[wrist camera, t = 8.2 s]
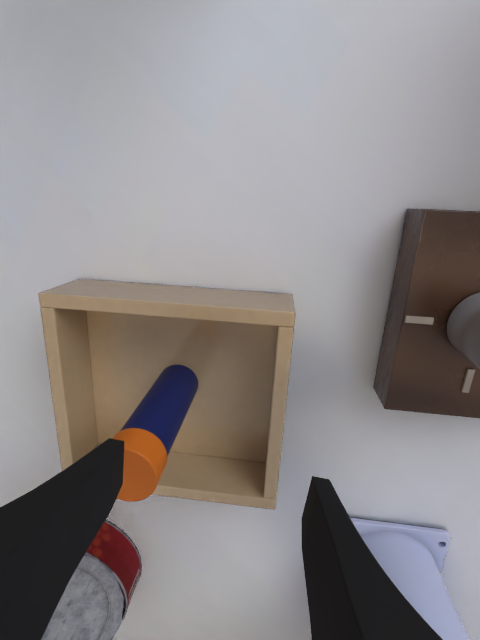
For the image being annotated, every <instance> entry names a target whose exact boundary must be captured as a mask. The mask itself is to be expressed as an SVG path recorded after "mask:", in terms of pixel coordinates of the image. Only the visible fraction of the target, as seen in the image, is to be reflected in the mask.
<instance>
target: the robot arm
mask: <svg viewBox="0 0 480 640" xmlns="http://www.w3.org/2000/svg"><path fill="white" fill-rule="evenodd" d="M123 468H124V441H122V440H116V439H111V438H109V439H107V440H106V441H104V442H103V443H101V444H100V445H99V446H97V447H96V448H95V449H93V450H92V451H90V452H89V453H88V454H86V455H85V456H83V457H82V458H81V459H79V460H78V461H76V462H75V463H73V464H72V465H71V466H69V467H68V468H66V469H65V470H63V471H62V472H60V473H59V474H57V475H56V476H54V477H53V478H51V479H50V480H48V481H46V482H45V483H43V484H42V485H40V486H38V487H37V488H35V489H34V490H32V491H30V492H28V493H27V494H25V495H23V496H21V497H19V498H17V499H16V500H14V501H12V502H10V503H8V504H6V505H4V506H2V507H0V640H41V639H42V637H43V635H44V632H45V630H46V628H47V626H48V624H49V622H50V620H51V618H52V615H53V613H54V611H55V609H56V607H57V605H58V603H59V601H60V599H61V597H62V595H63V593H64V591H65V589H66V587H67V585H68V583H69V581H70V579H71V577H72V575H73V574H74V572H75V570H76V568H77V567H78V565H79V563H80V562H81V560H82V558H83V557H84V555H85V553H86V552H87V550H88V548H89V547H90V545H91V543H92V542H93V540H94V538H95V537H96V535H97V533H98V531H99V530H100V528H101V526H102V525H103V523H104V521H105V520H106V518H107V516H108V514H109V513H110V511H111V509H112V507H113V505H114V503H115V500H116V498H117V496H118V494H119V491H120V489H121V487H122V485H123ZM450 540H451V537H450V535H449V533H448V531H446V530H443V529H436V528H428V527H420V526H412V525H404V524H396V523H388V522H380V521H372V520H364V519H356V518H350V517H349V515H348V514H347V512H346V510H345V508H344V506H343V505H342V503H341V501H340V499H339V497H338V495H337V493H336V491H335V489H334V487H333V485H332V483H331V482H330V480H329V479H324V478H319V477H313V476H312V480H311V484H310V488H309V492H308V496H307V500H306V504H305V508H304V512H303V516H302V553H303V562H304V571H305V579H306V588H307V596H308V605H309V613H310V623H311V635H312V640H469V638H468V635H467V633H466V631H465V629H464V626H463V624H462V622H461V620H460V617H459V615H458V613H457V611H456V608H455V606H454V604H453V601H452V599H451V597H450V595H449V592H448V590H447V588H446V586H445V583H444V581H443V579H442V577H441V574H440V572H441V569H442V566H443V562H444V559H445V556H446V553H447V549H448V546H449V543H450Z"/></svg>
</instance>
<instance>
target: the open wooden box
mask: <svg viewBox="0 0 480 640" xmlns="http://www.w3.org/2000/svg"><path fill="white" fill-rule="evenodd" d="M39 302H40V307H41V316H42V323H43V331H44V338H45V346H46V353H47V361H48V368H49V376H50V384H51V391H52V399H53V406H54V414H55V421H56V429H57V436H58V444H59V451H60V459H61V466H62V471H63V470H65V469H66V468H68V467H69V466H71V465H72V464H73V463H75V462H76V461H78V460H79V459H81V458H82V457H83V456H85V455H86V454H88V453H89V452H90V451H92V450H93V449H95V448H96V447H97V446H99V445H100V444H101V443H103V442H104V441H106V440H107V439H109V438H111V439H112V438H113V436H114V435H115V434H116V433H118V432H120V430H121V429H122V427H123V426H124V425H125V423H126V422H127V420H128V419H129V418H130V416H131V415H132V413H133V412H134V411H135V409H136V408H137V406H138V405H139V404H140V402H141V401H142V399H143V398H144V397H145V395H146V394H147V392H148V391H149V390H150V388H151V387H152V385H153V384H154V383H155V381H156V380H157V378H158V377H159V376H160V374H161V373H162V371H163V370H164V369H165V368H167V367H168V366H171V365H183V366H186V367H188V368H190V369H191V370H192V371H193V372H194V373H195V375H196V377H197V379H198V389H197V392H196V394H195V396H194V399H193V401H192V403H191V405H190V408H189V410H188V412H187V414H186V416H185V419H184V421H183V423H182V425H181V428H180V430H179V432H178V434H177V436H176V439H175V441H174V443H173V445H172V448H171V450H170V452H169V454H168V457H167V464H166V466H165V469H164V471H163V473H162V475H161V478H160V480H159V482H158V484H157V487H156V489H155V490H154V492H153V493H152V494H153V495H161V496H169V497H177V498H185V499H193V500H201V501H209V502H217V503H225V504H233V505H241V506H249V507H257V508H265V509H273V510H274V509H275V508H276V498H277V488H278V479H279V469H280V459H281V449H282V440H283V430H284V420H285V410H286V400H287V391H288V381H289V371H290V361H291V352H292V342H293V332H294V323H295V308H294V301H293V295H292V294H283V293H269V292H255V291H241V290H228V289H214V288H200V287H186V286H172V285H158V284H144V283H131V282H117V281H103V280H89V279H77V280H74V281H71V282H69V283H66V284H63V285H60V286H57V287H54V288H52V289H49V290H46V291H43V292H40V293H39Z"/></svg>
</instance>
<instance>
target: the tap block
mask: <svg viewBox="0 0 480 640" xmlns="http://www.w3.org/2000/svg"><path fill="white" fill-rule="evenodd" d="M476 293H480V212H476V211H456V210H435V209H407V212H406V218H405V223H404V228H403V234H402V239H401V244H400V250H399V255H398V260H397V266H396V271H395V276H394V282H393V287H392V292H391V298H390V303H389V308H388V314H387V319H386V324H385V330H384V335H383V340H382V345H381V351H380V356H379V361H378V367H377V372H376V377H375V383H374V390H375V392H376V394H377V395H378V397H379V399H380V401H381V403H382V405H383V407H384V409H391V410H402V411H412V412H422V413H432V414H442V415H453V416H463V417H473V418H480V369H479V368H478V367H477V366H476V365H474V364H473V363H472V362H471V361H469V360H468V359H467V358H466V357H464V356H463V355H462V354H461V353H459V352H458V351H457V350H456V349H455V348H454V347H453V346H452V345H451V343H450V341H449V339H448V336H447V322H448V319H449V317H450V315H451V313H452V311H453V310H454V308H455V307H456V306H457V305H458V304H459V303H460V302H461V301H463V300H464V299H466V298H467V297H469V296H471V295H474V294H476Z"/></svg>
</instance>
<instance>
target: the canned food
mask: <svg viewBox="0 0 480 640" xmlns="http://www.w3.org/2000/svg"><path fill="white" fill-rule="evenodd" d="M141 567H142V566H141V560H140V556H139V553H138V551H137V548H136V547H135V545H134V544H133V542H132V541H131V539H130V538H129V537H128V536H127V535H126V534H125V533H124V532H123V531H121V530H120V529H119V528H118V527H116V526H115V525H113V524H112V523H110V522H108V521H106V520H105V521H104V523H103V525H102V526H101V528H100V530H99V531H98V533H97V535H96V537H95V538H94V540H93V542H92V543H91V545H90V547H89V548H88V550H87V552H86V553H85V555H84V557H83V558H82V560H81V562H80V563H79V565H78V567H77V568H76V570H75V572H74V574H73V575H72V577H71V579H70V581H69V583H68V585H67V587H66V589H65V591H64V593H63V595H62V597H61V599H60V601H59V603H58V605H57V607H56V609H55V611H54V613H53V615H52V618H51V620H50V622H49V624H48V626H47V628H46V630H45V632H44V635H43V637H42V639H41V640H112V639H113V637H114V635H115V634H116V632H117V630H118V628H119V626H120V625H121V623H122V620H123V619H124V617H125V615H126V612H127V608H128V606H129V603H130V600H131V598H132V595H133V592H134V590H135V587H136V584H137V582H138V580H139V578H140V575H141Z"/></svg>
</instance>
